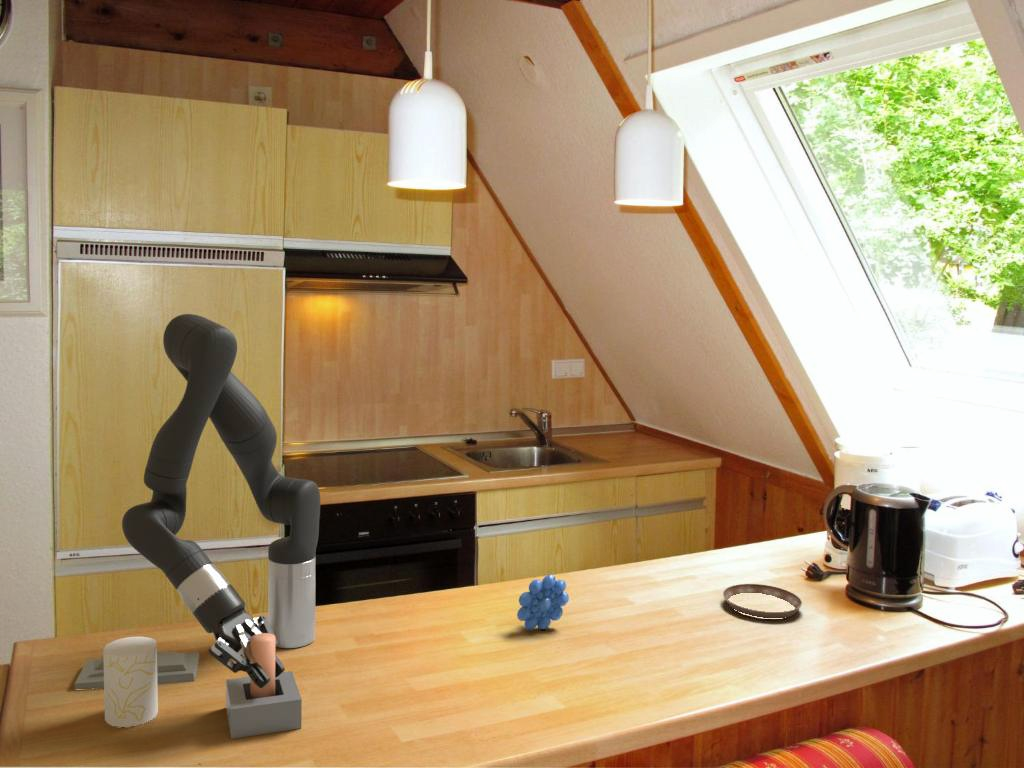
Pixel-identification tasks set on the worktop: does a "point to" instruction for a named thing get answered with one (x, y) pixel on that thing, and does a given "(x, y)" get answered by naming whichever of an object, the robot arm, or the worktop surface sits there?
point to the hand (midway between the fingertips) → (273, 678)
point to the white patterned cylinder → (130, 681)
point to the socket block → (263, 707)
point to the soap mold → (168, 670)
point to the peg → (263, 663)
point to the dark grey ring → (766, 590)
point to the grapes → (542, 602)
